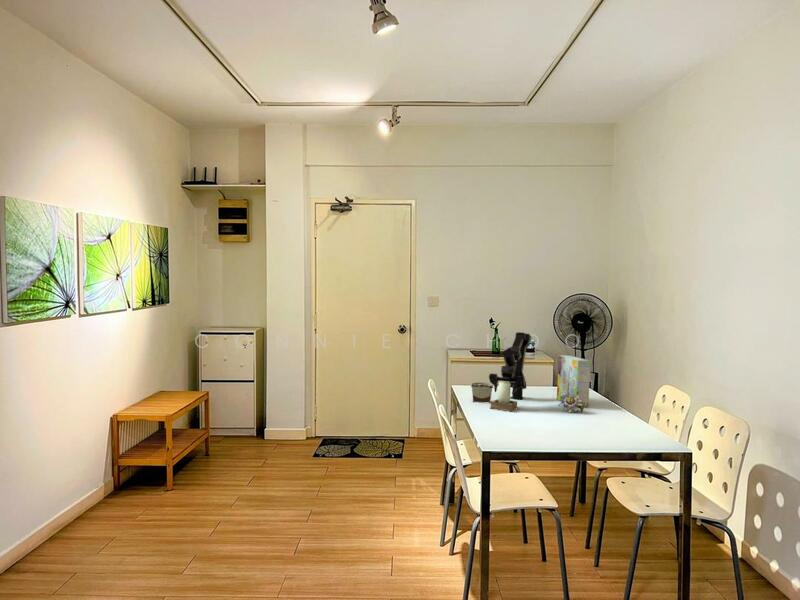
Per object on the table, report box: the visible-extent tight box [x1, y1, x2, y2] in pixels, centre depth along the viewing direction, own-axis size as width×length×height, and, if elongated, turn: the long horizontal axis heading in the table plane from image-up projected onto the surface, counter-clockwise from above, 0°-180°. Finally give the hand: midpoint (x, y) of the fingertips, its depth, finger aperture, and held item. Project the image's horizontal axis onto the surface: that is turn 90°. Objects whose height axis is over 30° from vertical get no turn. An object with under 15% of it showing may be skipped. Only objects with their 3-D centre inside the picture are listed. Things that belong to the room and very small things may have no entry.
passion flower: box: [558, 392, 585, 414], centre depth 303 cm, size 11×11×12 cm
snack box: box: [556, 355, 592, 408], centre depth 323 cm, size 22×9×26 cm, turn 14°
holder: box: [489, 398, 518, 413], centre depth 304 cm, size 11×11×4 cm
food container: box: [470, 382, 494, 403], centre depth 320 cm, size 12×6×10 cm, turn 84°
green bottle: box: [497, 381, 512, 404], centre depth 303 cm, size 6×6×13 cm
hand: (503, 392), depth 302 cm, fingers open, 9 cm apart
